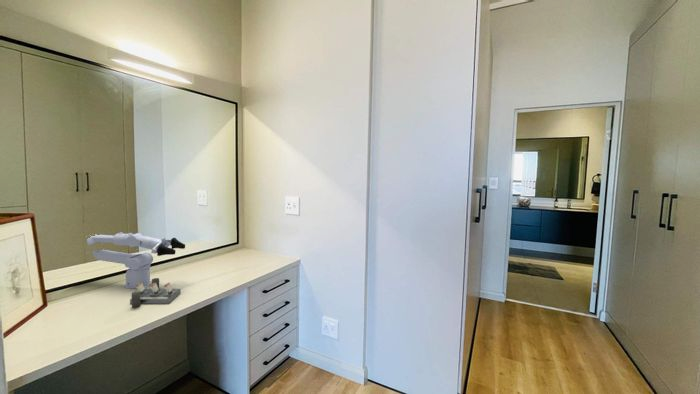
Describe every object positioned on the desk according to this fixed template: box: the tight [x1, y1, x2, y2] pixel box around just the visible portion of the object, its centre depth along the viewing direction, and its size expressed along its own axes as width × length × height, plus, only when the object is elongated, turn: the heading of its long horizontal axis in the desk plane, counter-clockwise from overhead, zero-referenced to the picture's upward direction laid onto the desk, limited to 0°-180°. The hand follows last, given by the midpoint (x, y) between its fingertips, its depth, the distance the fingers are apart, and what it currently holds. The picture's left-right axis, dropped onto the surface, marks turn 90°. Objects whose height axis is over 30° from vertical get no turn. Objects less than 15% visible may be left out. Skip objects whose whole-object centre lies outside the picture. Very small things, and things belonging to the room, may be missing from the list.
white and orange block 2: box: [149, 282, 160, 294], centre depth 132 cm, size 1×3×4 cm, turn 5°
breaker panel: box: [129, 288, 182, 305], centre depth 132 cm, size 16×11×3 cm
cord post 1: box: [131, 290, 142, 309], centre depth 124 cm, size 3×3×6 cm
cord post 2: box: [151, 277, 160, 289], centre depth 139 cm, size 3×3×6 cm
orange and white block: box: [163, 282, 174, 294], centre depth 132 cm, size 1×3×4 cm, turn 5°
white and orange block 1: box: [136, 282, 146, 294], centre depth 131 cm, size 1×3×4 cm, turn 5°
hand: (180, 249), depth 143 cm, fingers open, 7 cm apart
